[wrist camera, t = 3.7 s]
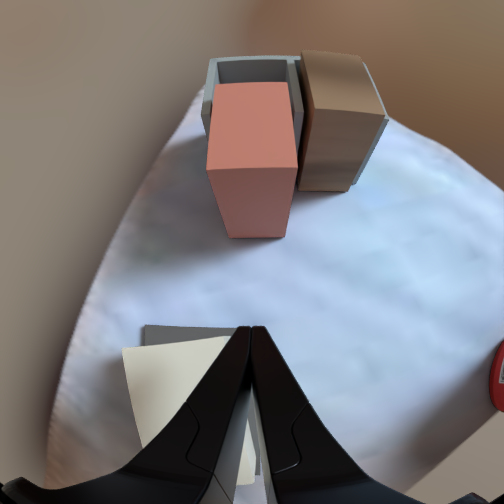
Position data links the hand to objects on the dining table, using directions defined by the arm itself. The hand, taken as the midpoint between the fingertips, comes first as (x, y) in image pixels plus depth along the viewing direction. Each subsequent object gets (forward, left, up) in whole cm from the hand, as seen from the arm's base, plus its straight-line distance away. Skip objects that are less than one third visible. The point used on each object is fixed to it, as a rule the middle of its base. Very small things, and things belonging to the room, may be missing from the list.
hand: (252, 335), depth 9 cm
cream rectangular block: (-5, +4, -10) cm, 12 cm away
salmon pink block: (+10, 0, -10) cm, 14 cm away
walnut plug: (+14, -5, -10) cm, 18 cm away
